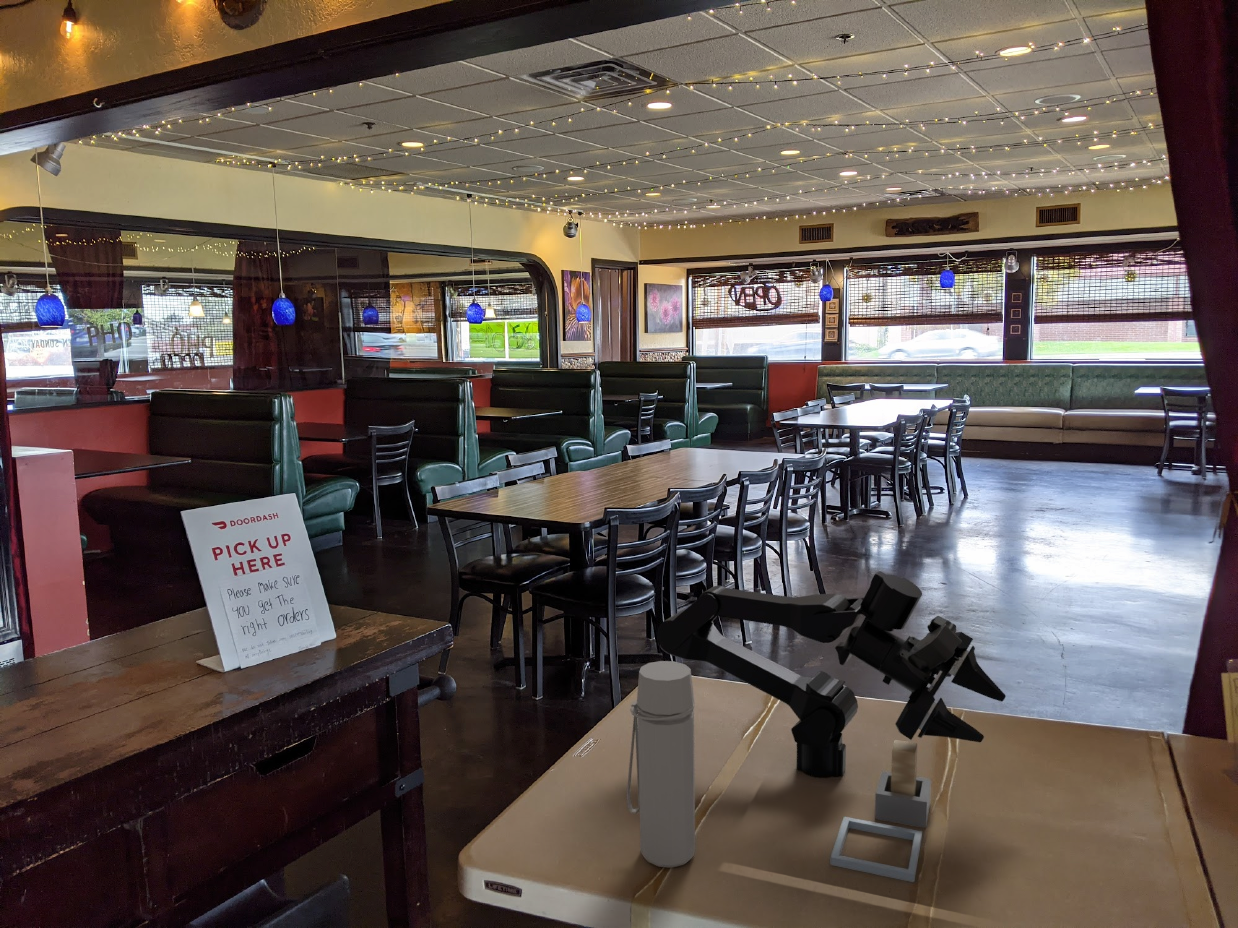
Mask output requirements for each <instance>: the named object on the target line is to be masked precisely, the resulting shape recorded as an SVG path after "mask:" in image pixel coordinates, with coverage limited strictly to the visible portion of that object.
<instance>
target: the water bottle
mask: <svg viewBox="0 0 1238 928" xmlns="http://www.w3.org/2000/svg"><path fill="white" fill-rule="evenodd" d="M637 683H638V684H637V694H636V695H637V696H636V701H633V702H632V703H631V704H630V706H631V708H630V712H631V715H632V716H633V720H632V722H633V723H632V732H631V733H632V734H631V743H630V755H629V764H628V765H629V766H628V776H627V786H626V801H627V802H626V803H627V809H628V812H629V813H632V814H634V815H636V814H637V813H639V841H640V843H639V847H640V853H641V855H642V856H643V858H644V859H645V860H646V861H647V863H649V864H652V865H654V866H656V867H659V868H677V867H680V866H684V865H685V864H686V863H687V862H689V861H690V860H691V859H692V858H693V857H694V856H695V851H696V806H695V805H696V795H695V794H696V791H695V790H696V787H695V785H696V784H695V781H696V780H695V779H696V778H695V775H696V774H695V711H694V710H695V705H696V702H695V697H694V688H693V679H692V670H691V668H690V667H689V666H687V664H685V663H682V662H681V663H680V662H678V661H670V660H665V661H664V660H659V661H654V662H647V663H646V664H644V665H642V666H641V667H640V669H639V671H638V682H637ZM634 747H635V753H636V755H635V757H636V778H637V779H636V780H637V783H636V784H637V805H638V807H637V809H636V808H634V807H633V804H632V797H631V782H632V771H633V758H634Z"/></svg>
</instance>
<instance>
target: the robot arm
mask: <svg viewBox="0 0 1238 928" xmlns="http://www.w3.org/2000/svg"><path fill="white" fill-rule="evenodd" d="M921 597H923V592H922V590H921V588H919V586H918V585H916V584H915V583H914V582H913V581H911V580H910V579H907V578H905V577H900V576H897V575H894V574H886V573H885V572H883V571H881V570H878V571H877V572H876V573H875V574H873V577H872V578H871V581H870V584H869V588H868V589H867V591H866V593H865V594H864V597H850V598H848V597H846V596H844V595H841V594H838V593H819V594H818V593H816V594H809V595H802V596H792V597H791V596H785V595H778V594H772V593H771V594H770V593H764V592H756V591H750V590H749V591H748V590H743V589H742V590H741V589H735V588H729V587H726V586H723V585H714V586H712V587H710V588H709V589H707V590H705V591H703V592H702V593H701V594H700V595H699V597H698V598H697V599H696V600H695V601H694V602H693V603H692V604H690V605H689V606H688V607H687V608H686V609H682V610H680V611H678V612H676V613H675V614H674V615H671V616H670V617H669V618H667V619H665V620H663V621H662V622H661V623H660V624H659V626H658V628H657V631H656V635H657V640H658V643H659V647H660V648H661V650H662V651H663V652H665V654H668V655H670V656H674V657H676V658H679V659H682V660H686V661H693V662H696V661H697V662H703V663H704V662H705V663H708V664H710V665H712V666H714V667H716V668H718V669H719V670H721V671H723V672H725V673H727V674H729V675H731V676H733V677H735V678H737V679H738V680H740V681H742V682H744V683H746V684H748V685H750V686H751V687H754V688H756V689H758V690H759V691H761V692H763V693H765V694H767V695H769V696H770V697H772V698H775V699H776V700H779V701H780V702H782V703H783V704H786V705H787V706H788V707H790V709H791V710H792V712H793V714H795V716H796V718H797V719H798V721H797V722H796V723H795V724H794V725H793V727H791V729H790V730H791V733H792V737H793V740H794V743H796V771H799V772H802V773H803V774H804V775H806V776H810V777H811V778H818V779H827V778H828V779H829V778H840V777H841V778H842V777H843V776H844V773H845V772H846V766H847V765H846V762H847V761H846V759H847V758H846V756H847V755H846V754H847V752H846V751H847V744H845V743H843V733H842V732H843V731H844V729H845V728H846V727H847V726H848V725H849V723H850V722H851V721H852V720H853V719H854V717H855V716H856V714H857V712H858V710H859V704H858V700H857V698H856V696H855V692H854V691H853V690H852V689H851V688H850V687H849V686H846V685H845V684H846V681H845V680H839V679H836V678H835V677H832V676H831V675H830V674H828V673H827V672H825V671H823V670H819V671H818V672H817V673H816V674H815V675H814V676H812V677H810V676H809V677H807V676H802V675H800V674H798V673H796V672H795V671H792V670H790V669H788V668H786V667H785V666H782V665H780V664H778V663H777V662H775V661H772V660H771V659H769V658H767V657H764V656H763V655H761V654H759V653H758V652H757V653H756V652H755V651H753V650H751V649H749V648H747V647H746V646H743V645H741V644H739V643H738V642H735V641H734V640H731V639H729V638H728V637H725V636H724V635H722V634H721V633H720V631H719V630H718V629H717V627H716V626H715V625H714V623H713V621H714V620H716V619H717V617H721V618H727V619H735V620H740V621H741V620H742V621H746V622H747V621H748V622H754V623H760V624H767V625H772V626H773V625H774V626H779V627H784V628H787V629H790V630H791V631H793V632H794V633H797V634H798V635H799V636H801V637H804V638H805V639H809V640H812V641H816V642H819V643H822V644H830V643H833V642H834V641H836V640H837V639H838V638H840V636H842V635H843V634H844V633H845V632H846V631H848V630H849V628H850V627H851V629H850V631H849V632H848V634H847V636H846V639H845V640H844V641H842V642H841V641H840V642H839V643H838V644H837V645H836V646H835V647H834V649H835V650H836V652H837V657H838V662H839V664H840V665H841V666H844V665H845V664H846V663H847V662H848V661H849V660H850V659H851V658H852V657H855V658H856V659H857V660H859V661H861V662H862V663H864V664H866V665H867V666H869V667H870V668H871V669H873V670H876V672H878V673H880V674H882V675H884V677H883V679H882V683H884V684H886V685H888V686H889V685H890V684H891V682H892V681H893V682H895V683H896V684H898V685H899V686H901V687H903V688H904V689H906V690H907V691H909V692H910V694H909V696H908V701H906V704H905V705H904V708H903V709H902V711H901V713H900V714H899V716H898V718H897V720H896V722H895V727H896V729H897V730H898V733H900V734H901V735H903V736H904V737H906V738H907V739H908V740H910V741H912V740H913V738H914V737H915V735H916V734H917V731H919V730H920V731H919V733H918V735H917V737H918V738H919V739H922V738H923V736H929V737H943V738H950V739H957V740H962V741H967V742H968V741H970V742H975V743H982V741H983V740H984V738H985V736H984V734H982V733H981V732H980V731H979V730H978V729H976V728H975V727H973V726H972V725H970V724H969V723H967V722H966V721H965V720H963V719H961V718H960V717H958V716H957V715H956V714H954V713H953V712H951V711H950V710H949V708H948V707H947V705H946V704H945V702H944V699H943V698H942V697H940V698H939V699H938V701H937V702H935V701H936V699H935V695H936V693H937V692H938V691H939V689H940V688H941V686H942V684H943V683H944V681H945V680H946V678H947V677H948V678H951V677H952V676H953V677H952V679H951V683H952V684H955V685H956V686H959V687H962V688H965V689H967V690H970V691H972V692H974V693H977V694H979V695H982V696H984V697H985V698H986V697H987V698H990V699H992V700H995V701H998V702H1004V701H1005V698H1006V694H1005V693H1004V692H1003V690H1001V689H1000V688H999V686H998V685H997V684H996V682H994V681H993V680H992V679H991V678H990V676H988V674H987V673H986V672H985V671H984V669H983V668H982V667H981V666H980V665H979V663H978V662H977V658H976V653H975V650H976V647H975V646H974V645H972V646H971V647H970V645H971V644H972V642H973V640H974V638H973V637H971V636H969V635H968V634H966V633H964V632H962V631H957V625H956V624H955V623H952V622H951V621H950V620H948V619H947V618H944V617H942V616H940V615H936V616H935V617H934V618H932V619H931V620H930V621H929V623H928V624H927V630H928V633H927V634H926V635H924V636H925V637H923V638H922V639H918V638H916V637H915V636H910V635H909V636H908V637H907V638H906V640H904V638H901V636H898V635H896V634H895V633H893V632H894V631H895V630H898V631H899V630H900V631H901V630H903V629H905V627H906V625H907V623H908V621H909V620H910V618H911V616H912V614H913V612H914V611H915V609H916V607H917V605H918V603H919V602H920V600H921ZM861 617H865V618H863V621H862V623H861V625H860V626H858V625H856V626H853V625H854V624H855V623H856V622H858V620H859V619H861ZM852 626H853V627H852ZM968 648H970V649H969V650H968ZM935 676H936V677H935ZM928 685H930V686H928Z"/></svg>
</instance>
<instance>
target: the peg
mask: <svg viewBox="0 0 1238 928" xmlns="http://www.w3.org/2000/svg"><path fill="white" fill-rule="evenodd" d="M917 765H918V742H911V741H906V740H905V741H904V740H899V739H898V740H897V739H894V742H893V745H892V748H891V771H890V772H891V792H892V793H898V794H904V795H910V796H915V797H916V777H917V773H918V772H917V768H918V767H917Z"/></svg>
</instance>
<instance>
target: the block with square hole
mask: <svg viewBox="0 0 1238 928" xmlns="http://www.w3.org/2000/svg"><path fill="white" fill-rule="evenodd" d="M931 788H932V779H931V778H929V777H928V778H927V777H921V776H916V797H915V796H910V795H904V794H898V793H892V792H891V771H886V770H881V772H880V775H879V780H878V783H877V787H876V791H875V795H874V796H875V798H874V802H875V805H874V820H879V821H885V822H889V823H895V824H900V825H905V826H911V827H917V828H921V829H927V824H928V818H929V813H930V806H931V791H932V790H931Z"/></svg>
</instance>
